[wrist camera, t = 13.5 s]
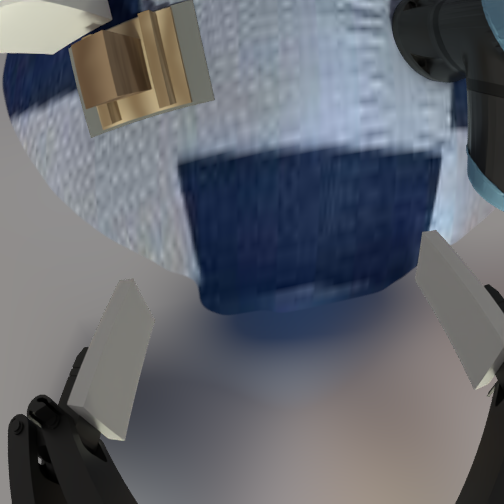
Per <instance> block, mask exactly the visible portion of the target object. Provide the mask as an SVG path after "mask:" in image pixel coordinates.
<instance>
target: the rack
mask: <svg viewBox="0 0 504 504" xmlns="http://www.w3.org/2000/svg"><path fill="white" fill-rule="evenodd" d="M107 31H110V32H114V33H118V34H123V35H127V36H130V37H134V38H138V39H140V40H141V44H142V49H143V53H144V58H145V62H146V66H147V71H148V75H149V79H150V83H151V87H152V89H151V90H148V91H145V92H142V93H139V94H136V95H133V96H131V97H128V98H124V99H121V100H117V101H113V102H109V103H106V104H102V105H99V106H96V107H97V111H98V114H99V118H100V121H101V125H102V128H103V130H105V129H108V128H110V127H113V126H116V125H119V124H122V123H124V122H127V121H130V120H133V119H136V118H139V117H142V116H145V115H149V114H152V113H155V112H158V111H162V110H165V109H169V108H172V107H176V106H180V105H183V104H187V103H191V102H193V101H192V97H191V93H190V88H189V84H188V80H187V75H186V71H185V67H184V62H183V58H182V54H181V49H180V45H179V40H178V36H177V31H176V26H175V22H174V17H173V13H172V8H171V7H168V8H165V9H162V10H159V11H156V12H152V11H150V10H146V11H144V12H141V13H138V18H136V19H133V20H131V21H128V22H126V23H123V24H121V25H118V26H116V27H114V28H111V29H109V30H107ZM90 35H92V34H90ZM90 35H88V36H90ZM88 36H86V37H88ZM86 37H84V38H86ZM84 38H82V39H84Z"/></svg>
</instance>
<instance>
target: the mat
mask: <svg viewBox="0 0 504 504" xmlns="http://www.w3.org/2000/svg"><path fill="white" fill-rule="evenodd" d="M168 7H171V8H172V13H173V17H174V22H175V26H176V31H177V36H178V40H179V45H180V49H181V54H182V58H183V62H184V67H185V71H186V75H187V80H188V84H189V88H190V93H191V97H192V101H193V102H191V103H187V104H183V105H180V106H176V107H172V108H169V109H165V110H162V111H158V112H155V113H152V114H149V115H145V116H142V117H139V118H136V119H133V120H130V121H127V122H124V123H122V124H119V125H116V126H113V127H110V128H108V129H105V130H103V128H102V125H101V121H100V118H99V114H98V111H97V107H92V108H89V109H86V108H85V104H84V100H83V96H82V93H81V89H80V84H79V80H78V76H77V72H76V67H75V63H74V58H73V53H72V48H71V47H70V48H69V53H70V58H71V63H72V67H73V72H74V76H75V81H76V85H77V89H78V93H79V97H80V100H81V104H82V108H83V111H84V115H85V119H86V122H87V125H88V129H89V132H90V135H91V138H92V137H95V136H97V135H100V134H103V133H105V132H108V131H111V130H113V129H116V128H119V127H122V126H125V125H127V124H130V123H133V122H136V121H139V120H143V119H146V118H149V117H152V116H155V115H159V114H162V113H166V112H169V111H173V110H176V109H180V108H184V107H188V106H192V105H196V104H200V103H204V102H209V101H213V100H215V99H214V95H213V90H212V86H211V81H210V77H209V72H208V68H207V63H206V59H205V54H204V50H203V45H202V41H201V36H200V32H199V27H198V23H197V18H196V13H195V9H194V4H193V0H189V1H185V2H181V3H178V4H175V5H171V6H168ZM168 7H165V8H168ZM165 8H161V9H158V10H155V11H152V12H156V11H159V10H162V9H165ZM136 18H138V17H136ZM136 18H133V19H136ZM133 19H131V20H133ZM131 20H128V21H131ZM128 21H126V22H128ZM126 22H123V23H126ZM123 23H121V24H123ZM121 24H118V25H121ZM118 25H116V26H118ZM116 26H114V27H116ZM114 27H111V28H114ZM111 28H109V29H111ZM109 29H107V30H109ZM107 30H105V31H107Z"/></svg>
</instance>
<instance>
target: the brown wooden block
mask: <svg viewBox="0 0 504 504" xmlns="http://www.w3.org/2000/svg"><path fill="white" fill-rule="evenodd" d="M71 48H72V53H73V58H74V63H75V67H76V72H77V76H78V80H79V84H80V89H81V93H82V96H83V100H84V104H85V108H86V109H89V108H92V107H96V106H99V105H102V104H106V103H109V102H113V101H117V100H121V99H124V98H128V97H131V96H133V95H136V94H139V93H142V92H145V91H148V90H151V89H152V87H151V83H150V79H149V75H148V71H147V66H146V62H145V58H144V53H143V49H142V44H141V40H140V39H138V38H134V37H130V36H127V35H123V34H118V33H114V32H110V31H105V30H101V31H99V32H97V33H95V34H92V35H90V36H88V37H86V38H84V39H82V40H81V41H79V42H77V43H75V44H73V45H71Z"/></svg>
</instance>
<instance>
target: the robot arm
mask: <svg viewBox="0 0 504 504" xmlns="http://www.w3.org/2000/svg"><path fill="white" fill-rule="evenodd" d="M393 34H394V38H395V41H396V44H397V47H398V49H399V51H400V53H401V54H402V56H403V57H404V59H405V60H406V62H407V63H408V64H409V65H410V66H411V67H412V68H413V69H414V70H415V71H416V72H418V73H419V74H420V75H422V76H424V77H426V78H428V79H430V80H434V81H439V82H447V83H448V82H456V81H459V80H461V79H464V78H466V83H467V101H468V143H467V145H466V151H467V155H468V166H467V172H468V177H469V180H470V182H471V183H472V186H473V188H474V189H475V190H476V191H477V193H478V194H479V195H480V196H481V197H483V198H484V199H485V200H486V201H487V202H489V203H490V204H492V205H493V206H495V207H496V208H498V209H500V210H501V211H504V0H403V1H402V2H400V4H399V5H398V6H397V8H396V10H395V12H394V16H393ZM415 281H416V283H417V285H418V286H419V288H420V289H421V291H422V293H423V294H424V296H425V298H426V299H427V301H428V303H429V304H430V306H431V308H432V309H433V311H434V313H435V315H436V316H437V318H438V320H439V322H440V323H441V325H442V327H443V329H444V331H445V332H446V334H447V336H448V338H449V340H450V342H451V344H452V345H453V347H454V349H455V351H456V353H457V355H458V357H459V359H460V361H461V363H462V365H463V367H464V369H465V371H466V373H467V376H468V378H469V380H470V382H471V384H472V386H473V389H474V390H476V389H478V388H481V387H483V386H485V385H487V384H489V383H490V381H491V380H492V378H493V377H494V376H495V375H496V377H497V379H498V381H497V382H496V383H495V385H494V386H493V387H492V389H491V390H490V391H489V393H488V395H487V396H488V397H489V396H490V395H491V394H492V393H493V392H494V393H493V397H492V402H491V406H490V411H489V414H488V418H487V421H486V425H485V428H484V432H483V435H482V438H481V442H480V445H479V447H478V450H477V453H476V456H475V459H474V461H473V464H472V467H471V469H470V472H469V474H468V477H467V479H466V481H465V484H464V486H463V488H462V490H461V493H460V495H459V497H458V499H457V501H456V504H504V299H503V297H502V296H501V295H500V293H499V292H498V291H497V290H496V289H494V288H493V287H491V286H490V285H489V284H488V285H485V286H483V285H482V283H481V282H480V281H479V280H478V278H477V277H476V276H475V274H474V273H473V272H472V271H471V270H470V268H469V267H468V266H467V265H466V264H465V262H464V261H463V260H462V259H461V258H460V256H459V255H458V254H457V253H456V252H455V251H454V249H453V248H452V247H451V246H450V245H449V244H448V243H447V242H446V240H445V239H444V238H443V237H442V236H441V235H440V234H439V233H438V232H437V231H436V230H433V231H427V232H422V239H421V246H420V253H419V259H418V265H417V271H416V277H415ZM154 323H155V319H154V318H153V316H152V314H151V312H150V310H149V308H148V307H147V305H146V303H145V301H144V299H143V297H142V295H141V293H140V291H139V289H138V287H137V285H136V283H135V281H134V279H127V280H120V281H119V283H118V284H117V286H116V288H115V291H114V293H113V295H112V297H111V299H110V301H109V303H108V305H107V307H106V309H105V312H104V314H103V316H102V318H101V320H100V323H99V325H98V327H97V329H96V332H95V334H94V337H93V339H92V341H91V343H90V345H89V347H85V348H83V350H82V351H81V352H80V353H79V355H78V356H77V357H76V360H75V362H74V365H73V369H72V370H71V372H70V377H68V380H67V382H66V385H65V387H64V390H63V393H62V395H61V398H60V401H59V404H58V405H57V404H56V403H55V402H54V401H53V400H52V399H50V398H49V397H48V396H46V395H39V396H37V397H35V398H34V399H33V400H32V401H31V403H30V404H29V406H28V409H27V417H28V418H27V417H26V416H25V415H23V414H18V415H16V416H15V417H13V419H12V420H11V422H10V424H9V428H8V464H9V479H10V490H11V499H12V504H138V503H137V502H136V500H135V498H134V497H133V495H132V494H131V492H130V490H129V489H128V487H127V486H126V484H125V482H124V480H123V479H122V477H121V475H120V473H119V472H118V470H117V468H116V466H115V465H114V463H113V461H112V459H111V457H110V455H109V453H108V451H107V449H106V447H105V445H104V443H103V442H102V440H101V439H100V434H101V433H102V434H103V435H105V436H106V437H107V438H109V439H114V440H122V441H125V437H126V433H127V428H128V423H129V419H130V414H131V410H132V406H133V401H134V397H135V393H136V389H137V385H138V381H139V376H140V373H141V369H142V365H143V362H144V358H145V354H146V351H147V347H148V343H149V340H150V337H151V333H152V330H153V326H154ZM38 457H39V458H41V459H42V463H41V464H39V463H38Z"/></svg>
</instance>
